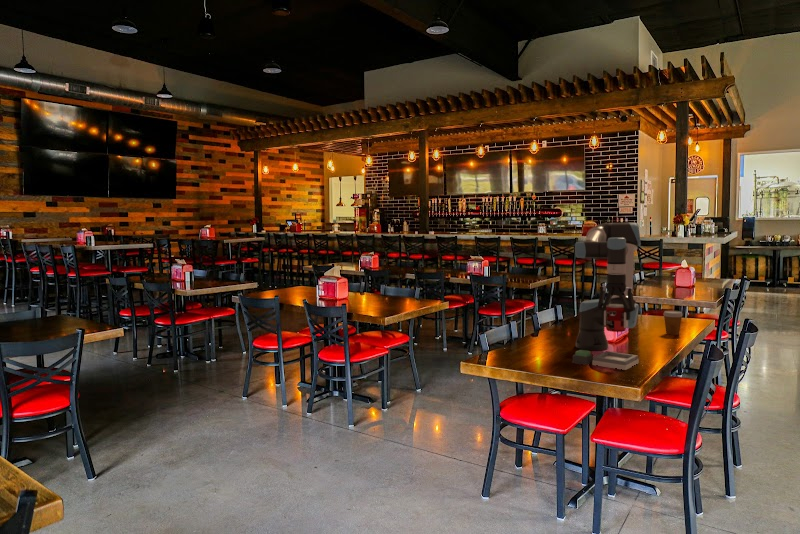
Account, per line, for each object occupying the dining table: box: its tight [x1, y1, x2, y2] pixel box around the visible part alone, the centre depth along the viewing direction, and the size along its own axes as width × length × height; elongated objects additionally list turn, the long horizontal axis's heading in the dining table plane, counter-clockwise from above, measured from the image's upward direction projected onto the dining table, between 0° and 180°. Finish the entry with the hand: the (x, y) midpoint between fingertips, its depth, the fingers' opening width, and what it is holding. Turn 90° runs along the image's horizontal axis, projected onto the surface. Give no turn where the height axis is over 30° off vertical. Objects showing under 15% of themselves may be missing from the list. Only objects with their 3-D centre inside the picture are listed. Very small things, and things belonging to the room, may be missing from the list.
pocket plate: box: [591, 350, 640, 371], centre depth 249 cm, size 14×14×4 cm
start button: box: [574, 349, 592, 357], centre depth 253 cm, size 5×5×3 cm
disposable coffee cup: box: [662, 310, 683, 336], centre depth 309 cm, size 10×10×12 cm
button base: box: [571, 353, 594, 366], centre depth 253 cm, size 7×7×4 cm
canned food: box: [605, 304, 627, 333], centre depth 247 cm, size 8×8×11 cm
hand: (615, 326), depth 248 cm, fingers closed on canned food, 8 cm apart
